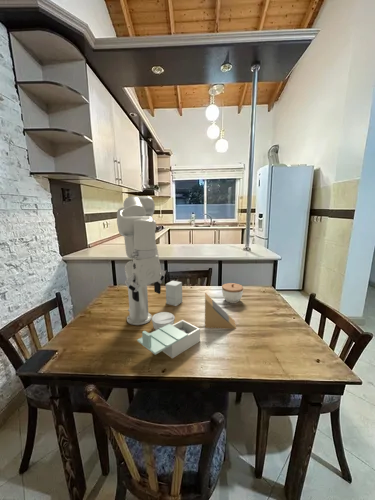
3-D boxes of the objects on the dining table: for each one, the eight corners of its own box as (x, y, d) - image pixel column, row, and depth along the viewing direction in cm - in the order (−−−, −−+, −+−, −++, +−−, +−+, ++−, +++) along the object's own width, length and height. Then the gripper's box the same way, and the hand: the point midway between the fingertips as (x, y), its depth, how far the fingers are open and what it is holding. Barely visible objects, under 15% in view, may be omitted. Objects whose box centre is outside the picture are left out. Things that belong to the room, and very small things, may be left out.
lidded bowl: (227, 294, 151) (227, 278, 148) (245, 299, 143) (246, 282, 141) (218, 301, 141) (218, 284, 138) (237, 306, 133) (238, 288, 131)
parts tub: (155, 346, 98) (154, 333, 97) (182, 331, 109) (182, 319, 108) (172, 358, 90) (172, 344, 89) (200, 341, 101) (200, 328, 100)
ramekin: (166, 336, 105) (166, 325, 104) (147, 329, 111) (146, 319, 110) (179, 324, 115) (179, 315, 114) (160, 319, 120) (160, 310, 119)
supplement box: (182, 301, 141) (182, 282, 138) (175, 306, 135) (175, 286, 132) (173, 299, 145) (172, 280, 142) (165, 303, 139) (165, 283, 136)
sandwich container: (236, 329, 110) (238, 300, 107) (204, 328, 112) (205, 299, 108) (234, 320, 119) (235, 293, 116) (204, 319, 120) (205, 292, 117)
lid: (137, 341, 91) (136, 327, 90) (169, 325, 102) (169, 313, 101) (155, 354, 83) (154, 340, 82) (187, 336, 94) (187, 323, 93)
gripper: (129, 260, 75) (132, 307, 80) (170, 251, 87) (170, 292, 91) (118, 255, 81) (121, 300, 85) (158, 247, 92) (159, 287, 96)
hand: (147, 296), depth 88 cm, fingers open, 9 cm apart
